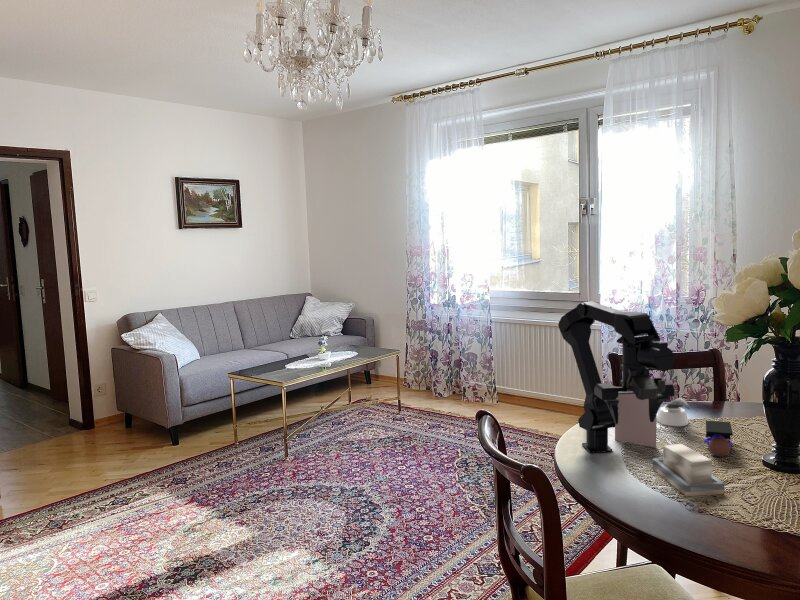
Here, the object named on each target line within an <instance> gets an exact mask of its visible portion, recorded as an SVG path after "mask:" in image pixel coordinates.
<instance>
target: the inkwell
mask: <svg viewBox="0 0 800 600" xmlns="http://www.w3.org/2000/svg"><path fill="white" fill-rule="evenodd" d="M683 407H684V408H686V409H687V410H690V405H689V403H688V402H687V400H686V399H684V398H682V397H677V398H675V399H673V400H671V401H669V402H668V403H667V404H665V405H664V406H660V408H659V410H658V412H657V423H659V424H661V425H664V426H669V427H685V426H688V424H689V423H690V422H689V419H688V414H687V412H686V409H684V408H683Z"/></svg>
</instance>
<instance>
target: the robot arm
mask: <svg viewBox="0 0 800 600" xmlns="http://www.w3.org/2000/svg"><path fill="white" fill-rule="evenodd" d="M595 322H599V323H602V324H605V325H607V326H611V327H612V328H613V329H614V331H615V332H616V333H617V334H618V335H620V337H619V338H618V339H616V343H618V344H622V346H621V347H622V356H621V358H622V363H621V364H619V368H620V369H621V371H622V372H621V379H620V381H619V384H620V385H621V386H615V385H614V384H612V383H610V382H609V383H602V379H601V377H600V374H599V370H598V367H597V364H596V360H595V358H594V355H593V351H592V348H591V345H590V339H591V335H592V327H591V326H592V325H593V324H594V323H595ZM557 327H558V330H559V332H560V334H561V336H562V338H563V340H564V341H565V342H566V343H567V344H568V345H570V347H571V349H572V353H573V356H574V359H575V362H576V366H577V369H578V372H579V375H580V378H581V382H582V386H583V389H584V392H585V399H584V403H583V410H584V413H583V414H582V415H580V417H579V418H578V419H577V420H578V421H577V422H578V426H579V428H581V429H583V430H585V432H586V434H585V435H586V437H585V438H586V442H582V443H581V445H582V447H583V448H584V449H586V451H587V452H589V453H591V454H595V453H596V454H597V453H611V452H614V450H613V448H611V447H610V446H609V429H611V428H615V425H616V424H618V416H619V415H618V409H619V408H618V403H619V400H617V399H616V398H617V397H618V394H635V395H636V397H637V398H638V399H640V400H644V399H649V418H650V421H651V422H653V421H654V419H655V417H656V414H657V415H658V413H659V410H660V408H661V407H662V404H663V403H664V402H665V401H666V400H670V399H671V397H675V396H676V388H675V386H674V384H672V383H670V382H668V381H666V380H665V378H664V377H651V375H650V374H651V373H650V369H653V370H656V371H660V372H667V371H669V370H670V369H671V368H672V367H673V366H674V363H675V359H676V358H675V355H674V351H672V349H671V348H669V347H668V342H666V341H661V338H660V336H659V333H658V331H657V329H656V328H655V326H654V323H653V321H652V320H651V318H650V315H649V314H648V313H645V312H639V311H638V312H637V311H632V312H631V311H622V310H619V309H616V308H613V307H609V306H606V305H603V304H600V303H599V302H597V301H582V302H579V304H577V305H576V307H575V308H573V309H571V310H570V311H568V312H566V313H565V314H564V315H562V316H561V317H560V320H559V321H558V326H557Z"/></svg>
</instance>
